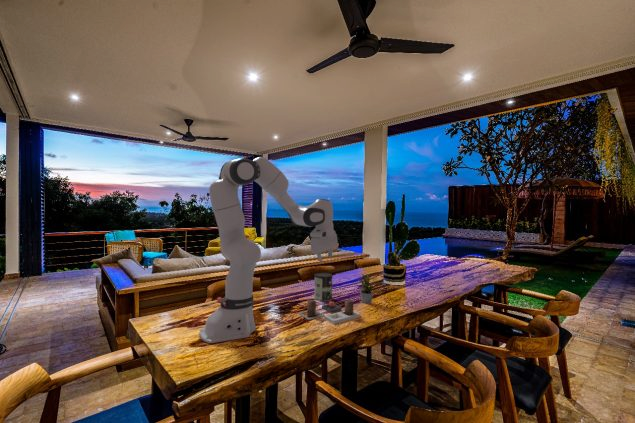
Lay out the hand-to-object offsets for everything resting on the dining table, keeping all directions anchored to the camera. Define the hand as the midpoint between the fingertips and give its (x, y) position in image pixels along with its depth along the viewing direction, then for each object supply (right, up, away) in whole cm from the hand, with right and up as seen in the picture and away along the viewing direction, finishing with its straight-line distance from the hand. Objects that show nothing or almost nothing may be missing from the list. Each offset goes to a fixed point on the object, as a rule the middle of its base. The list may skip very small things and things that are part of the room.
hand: (325, 258), depth 148 cm
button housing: (+3, -27, +1) cm, 27 cm away
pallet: (+8, -27, -10) cm, 30 cm away
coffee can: (-1, -27, +20) cm, 33 cm away
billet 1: (-7, -26, -7) cm, 28 cm away
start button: (+3, -25, +1) cm, 25 cm away
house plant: (+22, -27, +16) cm, 38 cm away
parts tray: (-7, -27, -7) cm, 28 cm away
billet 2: (+11, -26, -8) cm, 29 cm away
